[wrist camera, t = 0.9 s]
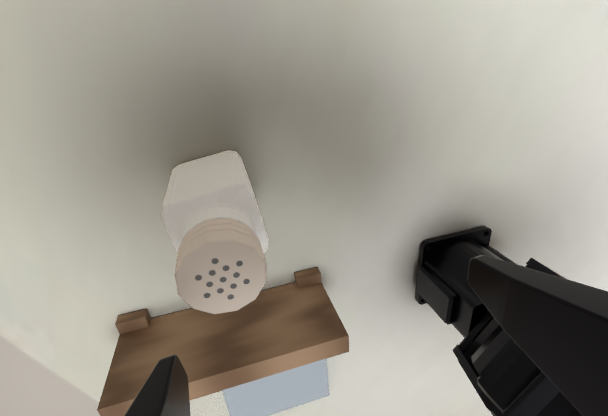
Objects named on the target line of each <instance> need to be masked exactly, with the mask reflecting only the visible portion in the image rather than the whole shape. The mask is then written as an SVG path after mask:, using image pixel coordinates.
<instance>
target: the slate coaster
mask: <svg viewBox="0 0 608 416" xmlns="http://www.w3.org/2000/svg"><path fill="white" fill-rule="evenodd" d="M222 391H223V394H224V398H225V401H226V404H227V407H228V410H229V414H230V416H269V415H272V414H275V413H278V412H281V411H284V410H287V409H290V408H293V407H296V406H299V405H302V404H305V403H308V402H311V401H314V400H317V399H320V398H323V397H326V396H329V384H328V371H327V358H326V359H323V360H319V361H316V362H313V363H310V364H306V365H303V366H300V367H297V368H293V369H290V370H287V371H284V372H280V373H277V374H274V375H271V376H267V377H264V378H261V379H258V380H254V381H251V382H248V383H245V384H241V385H238V386H235V387H232V388H228V389H225V390H222Z"/></svg>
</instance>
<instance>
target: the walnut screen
mask: <svg viewBox="0 0 608 416" xmlns="http://www.w3.org/2000/svg"><path fill="white" fill-rule="evenodd" d="M294 274H295V282H294V283H290V284H286V285H282V286H278V287H274V288H270V289H266V290H262V291H260V293H259V295H258V296H257V298H256V299H255V300H254V301H252V302H250V303H249V304H247V305H245V306H244V307H242V308H241V309H239V310H237V311H232V312H226V313H219V314H211V313H207V312H204V311H200V310H196V309H193V308H190V309H186V310H182V311H178V312H174V313H170V314H166V315H162V316H158V317H154V318H150V316H149V313H148V311H147V309H143V310H139V311H135V312H131V313H127V314H123V315H119V316H118V318H117V321H116V324H115V325H116V327H117V329H118V331H119V333H120V336H119V339H118V343H117V346H116V349H115V353H114V356H113V359H112V363H111V366H110V369H109V373H108V376H107V379H106V383H105V386H104V389H103V393H102V396H101V399H100V402H99V406H98V409H97V410H98V412H99V414H100V415H101V416H124V415H125V414H126V412H127V410H128V409H129V407H130V406H131V404H132V402H133V401H134V399H135V398H136V396H137V395H138V393H139V391H140V390H141V388H142V387H143V385H144V383H145V382H146V380H147V379H148V377H149V375H150V374H151V372H152V371H153V369H154V367H155V366H156V364H157V363H158V361H159V360H160V359H162V358H164V357H167V356H170V355H177V356H178V357H179V359H180V361H181V363H182V365H183V367H184V369H185V371H186V373H187V377H188V384H189V400H192V399H196V398H199V397H202V396H205V395H209V394H212V393H215V392H219V391H222V390H225V389H228V388H232V387H235V386H238V385H241V384H245V383H248V382H251V381H254V380H258V379H261V378H264V377H267V376H271V375H274V374H277V373H280V372H284V371H287V370H290V369H293V368H297V367H300V366H303V365H306V364H310V363H313V362H316V361H319V360H323V359H326V358H329V357H333V356H336V355H339V354H342V353H346V352H349V336H348V334H347V332H346V330H345V328H344V326H343V324H342V322H341V320H340V318H339V316H338V314H337V312H336V310H335V308H334V306H333V305H332V303H331V301H330V299H329V297H328V295H327V293H326V291H325V289H324V287H323V285H322V283H321V273H320V271H319V269H318V267H316V268H312V269H307V270H303V271H299V272H295V273H294Z"/></svg>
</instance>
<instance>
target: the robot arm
mask: <svg viewBox="0 0 608 416" xmlns="http://www.w3.org/2000/svg"><path fill="white" fill-rule="evenodd" d="M490 236H491V229H489V228H488V227H486V226H483V227H479V228H475V229H471V230H467V231H462V232H458V233H454V234H450V235H446V236H442V237H438V238H434V239H430V240H426V241H424V242H423V243H422V244H421V247H420V257H419V267H418V275H417V285H416V301H417V302H418V303H419V304H425V303H428V304H429V306H430V307H431V308H432V309H433V310H434V311H435V312H436V313H437V314H438V316H439V317H440V318H441V319H442V320H443V321H444V322H445V323H447V324H452V325H453V326H454V327H455V328H456V329H457V330H458V331H459V332H460V333H461V334H462V335H463V337H464V339H463V341H462V342H461V343H460V344H459V345H456V347H455V348H454V349H453V352H454V354H455V355H456V357H457V359H458V361H459V363H460V365H461V366H462V368H463V370H464V371H465V373H466V375H467V376H468V378H469V379H470V381H471V383H472V384H473V386H474V388H475V389H476V391H477V393H478V394H479V396H480V398H481V399H482V401H483V402H484V404H485V406H486V407H487V408H488V409H489V410H490V411H491V413H492V415H493V416H608V292H607V291H604V290H601V289H597V288H594V287H591V286H587V285H584V284H581V283H577V282H574V281H570V280H567V279H566V278H564V277H562V276H561V275H559V274H557V273H556V272H554V271H553V270H551V269H549V268H548V267H546V266H544V265H543V264H541V263H539V262H538V261H536V260H534V259H533V258H530V260H529V261H528V262H527V263H526V264H527V265H526V267H523V266H520V265H517V264H516V263H514V262H513V261H511V260H510V259H508V258H507V257H505V256H504V255H502V254H501V253H499V252H498V251H496V250H495V249H493V248H492V247H490V246H489V241H490ZM427 246H428V247H427ZM426 247H427V248H426ZM124 416H190V402H189V384H188V377H187V373H186V371H185V369H184V367H183V365H182V363H181V361H180V359H179V357H178V356H177V355H170V356H167V357H164V358H162V359H160V360H159V361H158V363H157V364H156V366H155V367H154V369H153V371H152V372H151V374H150V375H149V377H148V379H147V380H146V382H145V383H144V385H143V387H142V388H141V390H140V391H139V393H138V395H137V396H136V398H135V399H134V401H133V402H132V404H131V406H130V407H129V409H128V410H127V412H126V414H125V415H124Z"/></svg>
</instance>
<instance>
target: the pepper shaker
mask: <svg viewBox="0 0 608 416" xmlns="http://www.w3.org/2000/svg"><path fill="white" fill-rule="evenodd" d="M162 221H163V223H164V225H165V228H166V230H167V233H168V235H169V237H170V239H171V242H172V244H173V246H174V248H175V250H176V252H177V254H178V256H177V263H176V270H175V278H176V285H177V291H178V295H179V296H180V297H181V298H182V299H183V300H185V301H186V302H187V303H188V304H189V305H190V306H191V307H192V308H193V309H196V310H200V311H204V312H207V313H211V314H219V313H226V312H232V311H237V310H239V309H241V308H242V307H244V306H245V305H247V304H249V303H250V302H252V301H254V300H255V299H256V298H257V296H258V295H259V293H260V291H261V290H262V288H263V287H264V285H265V284H266V282H267V276H266V260H265V257H264V253H265V252H266V251H267V249H268V246H269V238H268V235H267V232H266V229H265V226H264V223H263V220H262V216H261V213H260V210H259V207H258V204H257V201H256V198H255V195H254V192H253V189H252V186H251V183H250V181H249V178H248V175H247V172H246V169H245V167H244V164H243V161H242V158H241V156H240V155H239V154H238V153H237V152H236V151H230V150H227V151H223V152H220V153H216V154H213V155H210V156H206V157H203V158H199V159H196V160H192V161H189V162H185V163H182V164H179V165H177V166H176V167H175V168H174V169H173V170H172V173H171V177H170V180H169V184H168V188H167V191H166V195H165V198H164V202H163V206H162Z"/></svg>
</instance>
